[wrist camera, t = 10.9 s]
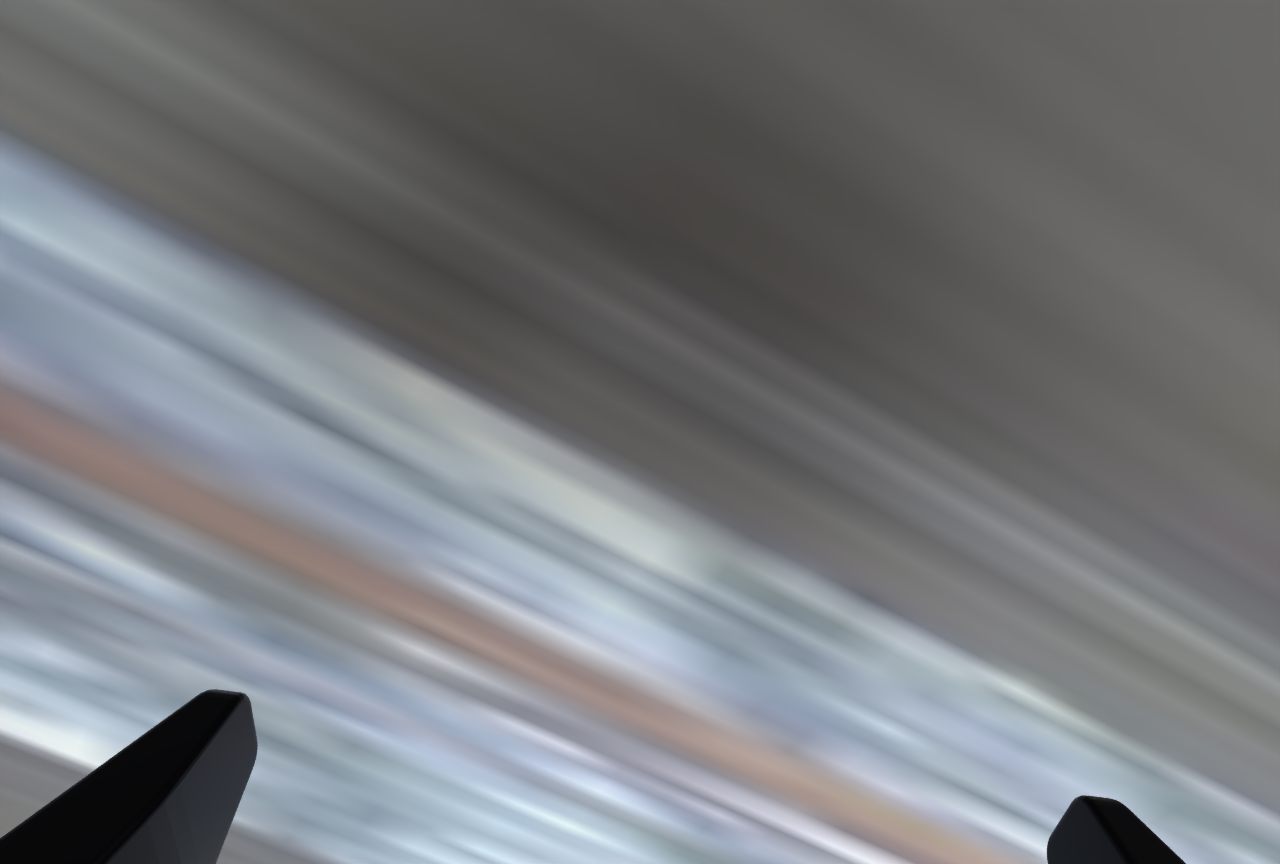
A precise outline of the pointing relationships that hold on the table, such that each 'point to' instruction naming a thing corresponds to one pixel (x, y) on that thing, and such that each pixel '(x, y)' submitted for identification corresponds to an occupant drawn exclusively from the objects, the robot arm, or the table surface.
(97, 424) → the table surface
